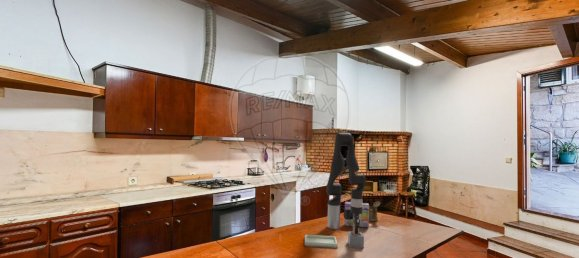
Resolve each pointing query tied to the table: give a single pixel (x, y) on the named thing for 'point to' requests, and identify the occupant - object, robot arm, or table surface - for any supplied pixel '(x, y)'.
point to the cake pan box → (363, 217)
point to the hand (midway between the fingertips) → (355, 232)
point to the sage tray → (321, 241)
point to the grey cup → (355, 240)
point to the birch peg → (354, 230)
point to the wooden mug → (373, 211)
